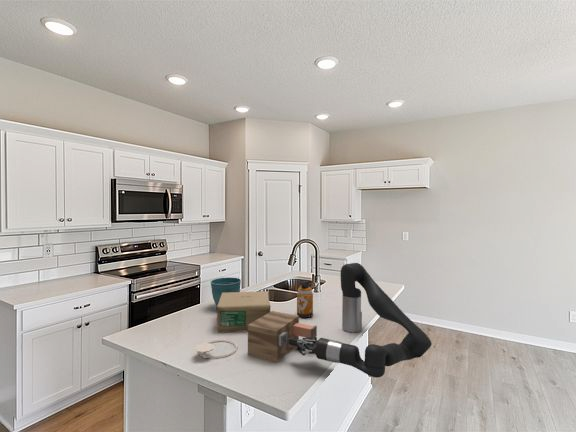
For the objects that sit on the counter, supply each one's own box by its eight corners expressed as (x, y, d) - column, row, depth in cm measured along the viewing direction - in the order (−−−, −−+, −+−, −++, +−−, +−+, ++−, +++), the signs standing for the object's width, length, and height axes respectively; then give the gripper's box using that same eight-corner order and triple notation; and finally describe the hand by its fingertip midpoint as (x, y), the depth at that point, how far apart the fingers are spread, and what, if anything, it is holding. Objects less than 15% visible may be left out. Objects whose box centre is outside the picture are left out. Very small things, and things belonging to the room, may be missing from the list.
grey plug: (256, 335, 138) (256, 325, 137) (287, 342, 130) (287, 332, 130) (250, 339, 134) (250, 329, 134) (282, 347, 127) (282, 336, 126)
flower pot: (205, 312, 185) (204, 283, 184) (218, 302, 202) (218, 276, 202) (233, 314, 180) (233, 285, 180) (245, 305, 198) (245, 278, 197)
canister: (294, 316, 177) (294, 281, 176) (302, 311, 187) (302, 277, 186) (308, 319, 173) (309, 283, 172) (316, 313, 183) (316, 279, 182)
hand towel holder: (245, 337, 140) (212, 356, 122) (245, 347, 140) (212, 367, 123) (217, 329, 149) (182, 346, 131) (217, 338, 149) (182, 356, 131)
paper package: (216, 333, 154) (216, 305, 154) (221, 315, 180) (221, 291, 179) (271, 331, 157) (271, 303, 156) (269, 313, 182) (269, 289, 182)
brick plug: (285, 329, 145) (285, 319, 144) (316, 335, 137) (316, 325, 137) (280, 332, 141) (280, 322, 141) (312, 339, 133) (312, 329, 133)
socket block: (272, 336, 150) (272, 310, 150) (298, 342, 144) (298, 315, 143) (247, 354, 132) (247, 325, 132) (276, 362, 126) (276, 331, 125)
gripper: (324, 368, 113) (281, 357, 121) (336, 353, 125) (297, 344, 133) (324, 347, 113) (281, 338, 121) (336, 334, 125) (297, 326, 133)
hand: (289, 341), depth 127 cm, fingers closed
